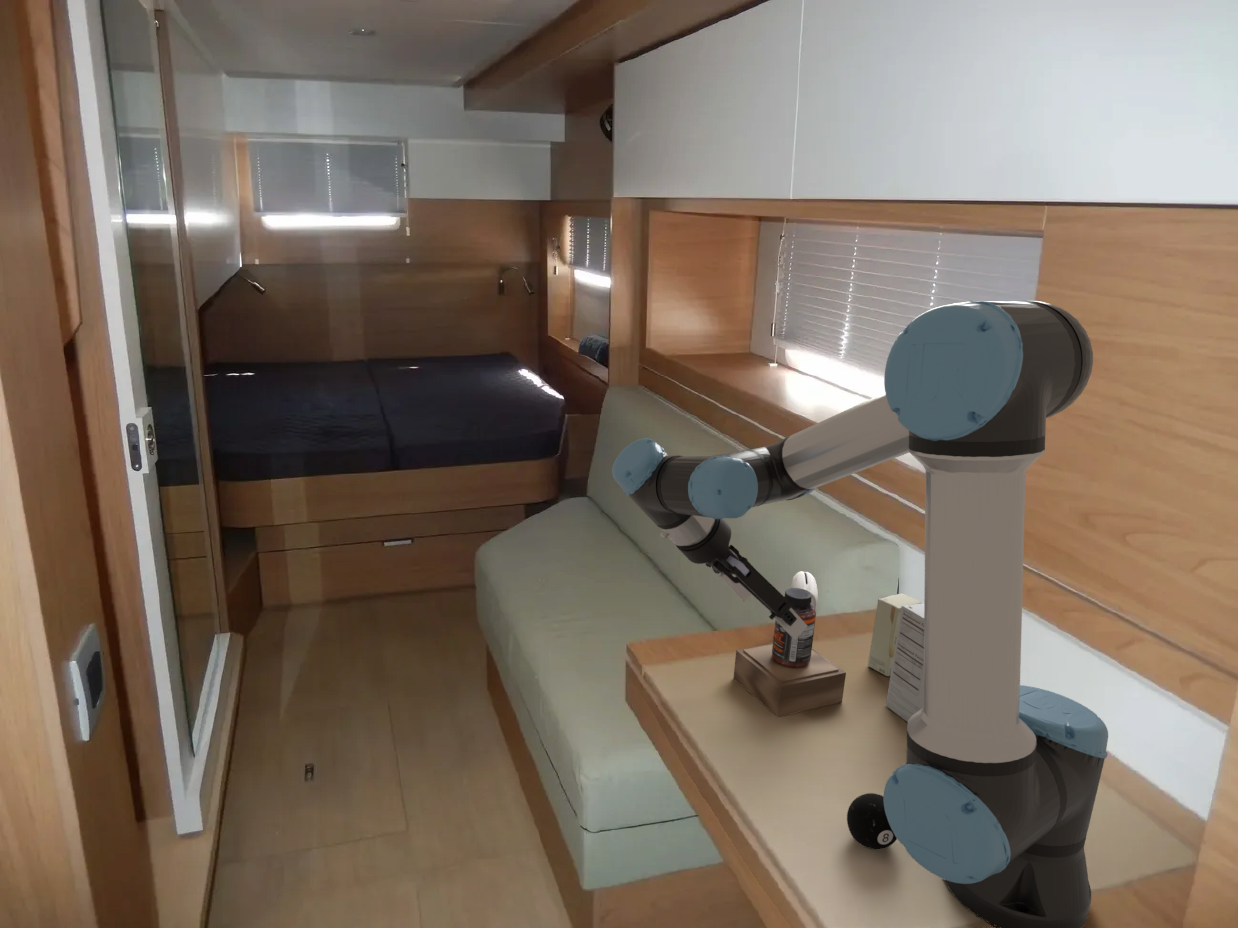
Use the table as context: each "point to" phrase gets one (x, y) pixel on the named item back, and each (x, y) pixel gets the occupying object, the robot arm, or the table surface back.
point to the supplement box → (908, 664)
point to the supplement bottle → (799, 649)
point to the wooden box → (788, 681)
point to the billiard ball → (870, 822)
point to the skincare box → (887, 631)
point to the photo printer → (806, 585)
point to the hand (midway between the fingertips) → (773, 612)
